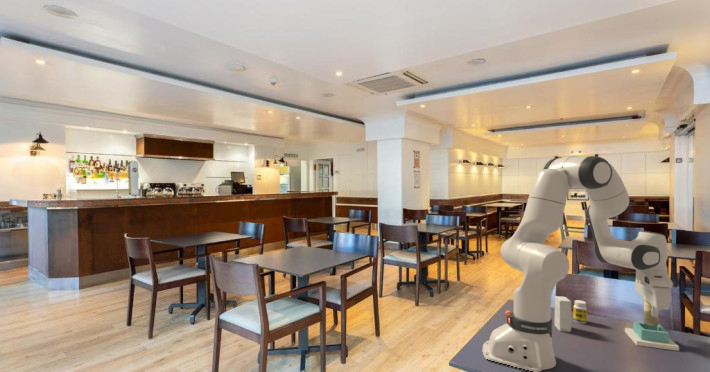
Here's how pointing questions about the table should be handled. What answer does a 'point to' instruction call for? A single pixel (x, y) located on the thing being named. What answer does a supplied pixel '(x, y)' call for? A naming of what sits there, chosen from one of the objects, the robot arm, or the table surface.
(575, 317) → the supplement bottle
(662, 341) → the socket block
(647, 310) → the maple peg
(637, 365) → the table surface
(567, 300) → the skincare box
